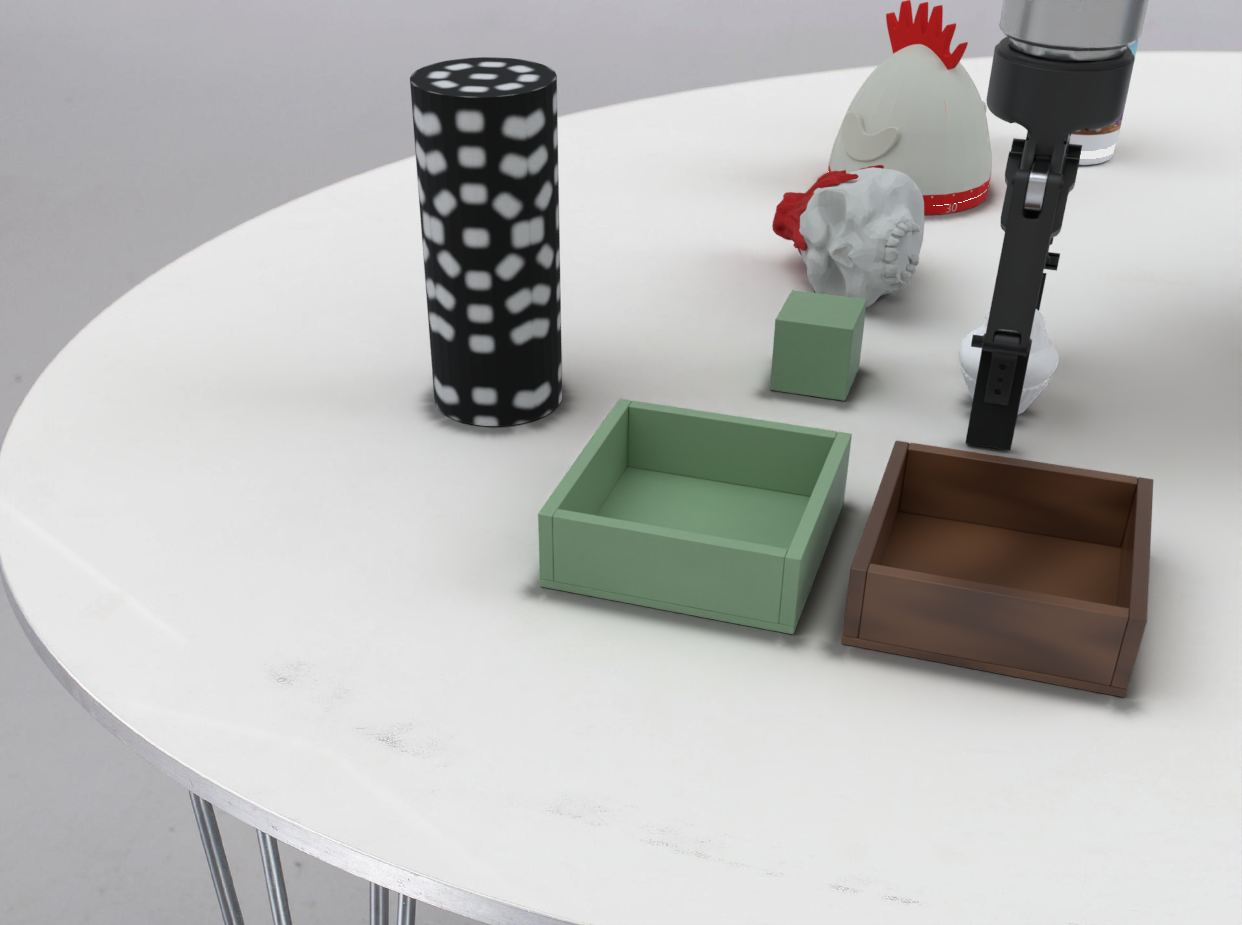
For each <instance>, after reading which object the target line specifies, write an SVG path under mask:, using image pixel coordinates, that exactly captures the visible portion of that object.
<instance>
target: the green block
mask: <svg viewBox="0 0 1242 925" xmlns="http://www.w3.org/2000/svg"><path fill="white" fill-rule="evenodd" d="M866 304H867V300H866V299H860V298H852V297H844V296H836V295H828V294H820V293H816V292H812V291H806V290H805V291H803V290H798V289H797V290H796V289H792V290H791V291H790V293H789V295H788V296H787V298H786V300H785V302H784V303H783V306H782V307H781V309H780V311H779V312H778V314H777V316H776V318H775V320H774V330H773V331H774V333H773V344H772V358H771V359H772V360H771V371H770V381H769V390H770V391H775V392H781V393H788V394H794V395H795V394H796V395H801V396H802V395H803V396H809V397H815V398H823V399H831V400H835V401H841V402H842V401H843V402H844V401H846V400H847V398H848V396H849V393H850V391H851V388H852V385H853V383H854V381H855V380H856V377H857V374H858V372H859V369H860V364H861V353H862V348H863V338H864V331H865V330H864V329H865V322H866V311H867V307H866Z"/></svg>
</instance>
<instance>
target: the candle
mask: <svg viewBox="0 0 1242 925" xmlns="http://www.w3.org/2000/svg"><path fill="white" fill-rule="evenodd" d="M883 168H884V166H883V165H876V166H870V167H866V168H861V169H859V170H856V171H853V172H849V173H846V170H842V171H831V172H828V171H827V172H824V173H823V174H822V175H821V176H820V177H818V178H817V180H815V183H813V184H812V185H811V186H810V188H809V189H807V191H805V192H793V191H789V192H785V193H784V194H783V195H782V196H783V198H782V199H781V201H780V202H779V203H778V204H777V205H776V208H775V213H774V215H773V220H772V228H771V229H772V231H773V233H774V234H775V235H776V236H778V237H780V238H782V239H784V240H786V241H792V242H793V248H794V249H797V251H798V253H799V254H800V255H801V257H802V260H803V263H804V264H805V266H806V274H807V275H806V276H807V279H808V282H809V284H810V285H811V287H812V289H813V290H814V291H815V293H820V294H828V295H836V296H844V297H852V298H860V299H866V300H867V304H866V308H869V307H871V306H872V305H873V304H874V303H876V301H878V299H879V298H880V297H881V296H884V295H891V294H892V293H894V292H896V291H898V290H901V289H903V288H905V287H906V285H908V282H909V281H910V280H911V278H912V275H913V274H915V272H916V270H917V266H918V264H919V263H920V253H921V249H922V245H923V242H924V235H925V234H924V233H925V215H924V200H923V196H922V193H921V191H920V189H919V188H918V186H917V185H916V184H915V182H914V181H913V180H911V178H910V177H909V176H908V175H906V174H905V173H902V172H899V171H896V170H893V169H883Z"/></svg>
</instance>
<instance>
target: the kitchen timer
mask: <svg viewBox="0 0 1242 925" xmlns="http://www.w3.org/2000/svg"><path fill="white" fill-rule="evenodd" d="M943 16H944V8H943V4H940V5H935V6H933V7H932V9H931V13H930V15H929V1H924V2H920V3H919V4H918V6H917V9H916V13H915V15H914V18H913V8H912V2H911V0H903V1H901V3H900V7H899V13H898V17H897V16H896V13H895V12H894V11H893V12H892V11H891V12H888V13H886V14H885V20H886V21H885V22H886V28H887V33H888V38H889V42H890V46H891V51H892V54H890V55H889V56H888V57H886V58H885V59H884V60H883V61H882V62H880V63H879V64H878V65H877V67H876V68H874V70H873V71H872V72H871V73H870V74H869V76H868V77H866V79H865V81H864V82H862V85H861V86H860V87H859V89H858V90H857V92H856V94H855V95H854V97H853V98H852V100H851V102H850V104H849V106H848V108H847V110H846V113H845V115H844V117H843V120H842V122H841V124H840V127H839V129H838V131H837V135H836V137H835V139H834V143H833V145H832V149H831V153H830V155H829V161H828V169H827V172H828V171H829V172H831V171H842V170H846V173H849V172H853V171H856V170H859V169H861V168H866V167H870V166H876V165H883V166H884V168H883V169H893V170H896V171H899V172H902V173H905V174H906V175H908V176H909V177H910V178H911V180H913V181H914V182H915V184H916V185H917V186H918V188H919V189H920V191H921V193H922V196H923V200H924V216H933V215H946V214H950V213H957V212H963V211H965V210H968V209H972V208H975V207H977V206H979V205H980V204H982V203H983V202H985V201H986V200H987V197H988V194H989V189H990V184H989V182H990V183H991V177H992V168H993V167H992V165H993V156H992V155H993V154H992V146H991V144H992V143H991V137H990V132H989V131H990V130H989V124H988V118H987V102H985V101H983V100H982V97H981V95H980V93H979V90H978V88H977V85H976V84H975V82H974V80H973V78H972V77H971V75H970V74H969V73H968V71H967V69H966V68H965V66H964V65H963V64H962V62H961V60H962V58H963V56H964V54H965V53H966V50H967V47H968V44H969V42H968V41H965V42H962V43H959V44H958V45H957V46H956V47H955V49H954V50H953V51H952V53H951V44H952V40H953V37H954V35H955V32H956V29H957V23H956V22H954V23H950V24H947V25H945V27H944V28H943V19H944V18H943ZM988 185H989V187H988ZM987 188H988V189H987ZM986 189H987V191H986V192H985V193H983V192H984V191H985V190H986ZM981 193H983V194H982V195H981V196H979V197H977V196H978V195H980V194H981ZM974 197H977V198H974ZM970 198H974V199H971V200H968V199H970ZM965 200H968V201H965ZM963 201H965V202H963ZM958 202H962V203H958ZM954 203H956V204H954ZM944 204H949V205H944ZM933 205H935V206H933ZM936 205H943V206H936Z"/></svg>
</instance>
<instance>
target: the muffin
mask: <svg viewBox="0 0 1242 925" xmlns="http://www.w3.org/2000/svg"><path fill="white" fill-rule="evenodd" d="M989 314H990V311H989V312H988V313H987V314H986V315H985V321H984V322H983V323H982V324H981V325H979V326H978V327H977V328H976V329H974V330H972V331H971V332H969V333H968V334H967V335H966V336H965V337H964V338H963V339H962V341H961V343H960V345H959V350H958V359H959V363H960V365H961V368H960V370H961V374H962V377H963V379H964V382H965V385H966V387H967V390H968V393H969V395H970V398H971V400H972V401H973V397H974V391H975V385H976V380H977V374H978V368H979V363H980V357H981V351H982V348H977V347H971V343H972V337H973V335H980V336H983V335H984V333H985V334H986V330H987V324H988V319H989ZM1045 327H1046V326H1045V319H1044V316H1043V314H1042V313H1041V311H1040V310H1039V311H1038V310H1037V309H1036V311H1035V316H1034V321H1033V326H1032V331H1031V336H1030V338H1031V340H1032V344H1031V349H1030V354H1029V359H1028V364H1027V369H1026V374H1025V379H1024V385H1023V390H1022V395H1021V400H1020V405H1019V410H1018V415H1017V416H1019V415H1021V414H1023V413H1025V411H1026V410H1027V409H1028V408H1029V407H1030V405H1032V403H1033V402H1034V401H1035V400H1036V398H1038V396H1039V395H1040V394H1041V393H1042V392H1043V391H1044V389H1045V388H1046V387H1047V386H1048V385H1049V383H1050V381H1051V377H1052V376H1053V375H1054V373H1055V372H1056V370H1057V369H1058V368H1057V367H1058V365H1059V361H1060V354H1059V351H1058V349H1057V347H1056V345H1054V343H1053V342H1052V341H1051V339H1049V334H1048V332H1047V330H1046V329H1045ZM1003 330H1004V329H1003ZM1010 331H1012V330H1010Z"/></svg>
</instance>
